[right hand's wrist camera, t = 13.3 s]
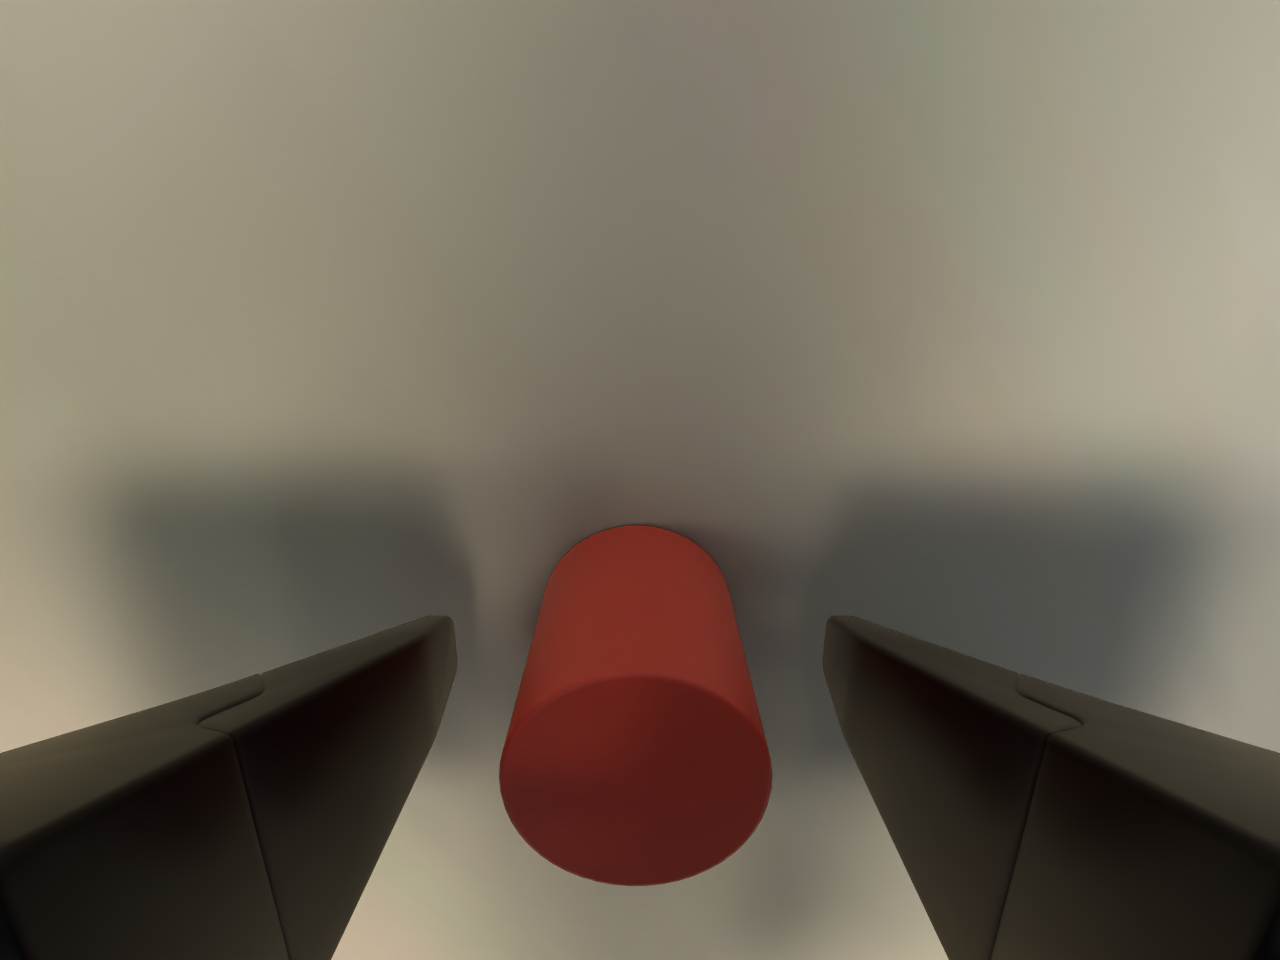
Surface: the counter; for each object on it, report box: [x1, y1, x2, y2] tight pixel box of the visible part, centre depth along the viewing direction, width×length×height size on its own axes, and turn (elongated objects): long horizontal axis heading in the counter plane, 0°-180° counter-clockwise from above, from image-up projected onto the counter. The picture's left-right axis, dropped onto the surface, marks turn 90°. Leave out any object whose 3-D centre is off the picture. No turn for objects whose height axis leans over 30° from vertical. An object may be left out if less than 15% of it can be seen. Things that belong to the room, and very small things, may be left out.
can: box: [499, 526, 772, 886], centre depth 11 cm, size 4×4×4 cm
